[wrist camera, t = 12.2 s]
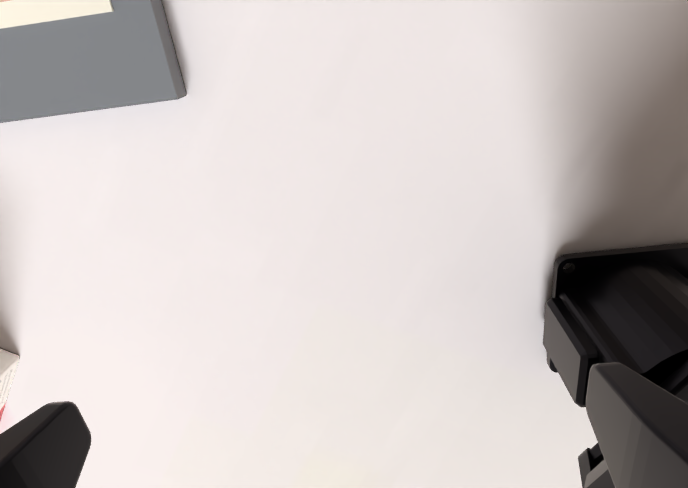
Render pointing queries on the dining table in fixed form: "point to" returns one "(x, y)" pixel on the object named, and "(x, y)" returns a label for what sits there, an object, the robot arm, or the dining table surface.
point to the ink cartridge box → (6, 375)
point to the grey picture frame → (84, 56)
